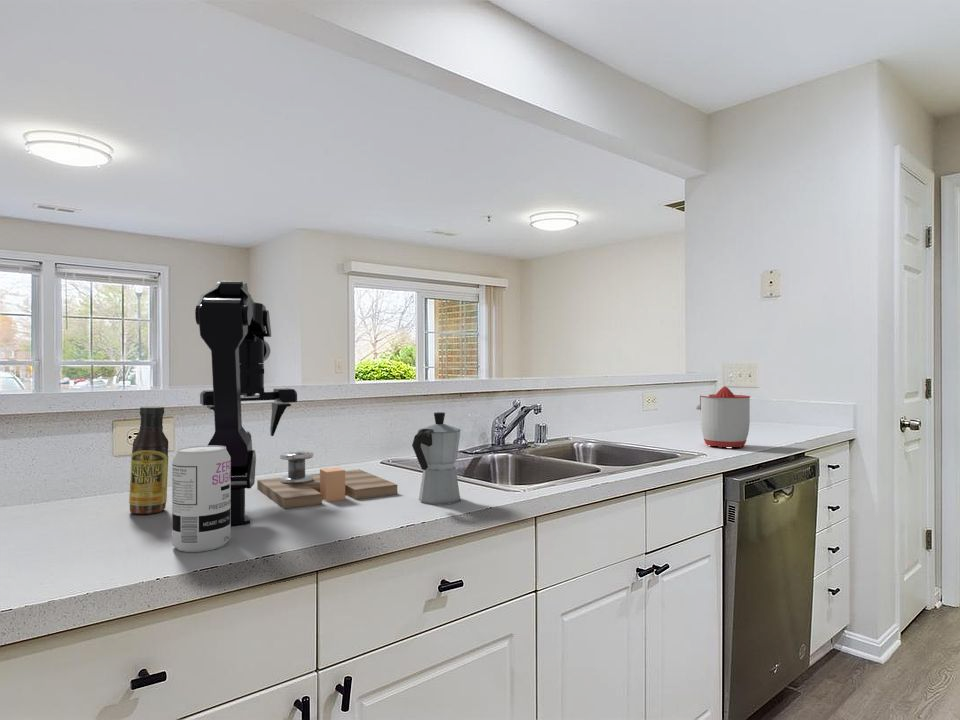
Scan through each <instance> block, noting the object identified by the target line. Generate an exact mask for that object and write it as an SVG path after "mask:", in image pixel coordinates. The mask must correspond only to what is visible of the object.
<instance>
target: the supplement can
mask: <svg viewBox="0 0 960 720" xmlns="http://www.w3.org/2000/svg"><path fill="white" fill-rule="evenodd" d="M171 465H172V466H171V467H172V469H171V471H172V472H171V473H172V474H171V475H172V477H171V478H172V479H171V481H172V482H171V488H172V490H171V502H172V503H171V504H172V505H171V506H172V507H171V510H172V511H171V515H172V516H171V520H172V521H171V530H172V531H171V533H172V535H171V541H172V547H175V548H176V550H177V551H180V552H185V553H200V552H207V551H213V550H216V549H220V548H222V547H224V546H225V545H226V544H227V542H228V541H229V540H230V539H231V537H232V536H231V535H232V534H231V526H232V525H231V457H230V455H229V453H228V452H227V450H226V447H225V446H217V445H208V444H206V445H195V446H193V445H192V446H185V447H180V448H178V449H176V452H175V454H174V455H173V457H172V461H171Z"/></svg>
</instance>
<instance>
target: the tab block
mask: <svg viewBox="0 0 960 720" xmlns="http://www.w3.org/2000/svg"><path fill="white" fill-rule="evenodd" d="M345 471H346V470H345V469H344V468H342V467H339V466H337V467H329V468H320V469H319V473H320V493H321V494H322V501H324V502H332V501H340V500H346V494H345Z"/></svg>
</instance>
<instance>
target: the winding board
mask: <svg viewBox="0 0 960 720" xmlns="http://www.w3.org/2000/svg"><path fill="white" fill-rule="evenodd" d="M308 475H312V476H313V481H312V482H309V483H303V484H283V483H280V478H281V477H282V476H281V477H272V478H271V477H270V478H261V479H257V480H256V482H257V483H256V485H257V487H256V488H257V490H258V491H259V492H261V493H262V494H263V495H264V496H266V497H268V499H270V500H271V501H273V502H274V503H275V504H276V505H278V506H280V507H281V508H282V509H291V508H292V509H294V508H299V507H300V508H301V507H306V506H308V507H309V506H315V505H316V506H317V505H321V504H322V503H323V499H322V494H321V493H320V472H318V473H310V474H309V473H308ZM392 495H393V496H394V495H398V484H397V483H395V482H392V481H389V480H387V479H384V478H382V477H379V476H377V475H374V474H372V473H370V472H367V471H365V470H361V469H351V470H349V469H348V470H345V496H348V497H350V498H351V499H354V500H361V499H368V498H377V497H383V496H384V497H385V496H392Z"/></svg>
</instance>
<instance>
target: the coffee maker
mask: <svg viewBox="0 0 960 720" xmlns="http://www.w3.org/2000/svg"><path fill="white" fill-rule="evenodd" d="M433 415H434V424H431V425H428V426H425V427H423V428H420V429H418V430H417V431H418V432H417V434H415V435H414V437H413V440H412V441H413V442H412V444H411V447H412V449H413V451H414V454H415V456H416V458H417V462H418V465H419V466H420V468H421V470H422V475H421V476H422V477H421V483H420V490H419V495H418V500H419V502H420V503H421V504H426V505H432V504H433V505H434V506H438V505H437V504H442V505H450V504H449V503H453V504H455V503H454V502H456V503H457V501H458V502H460V501H459V500H461V495H460V487H459V481H458V475H457V468H456V466H455V462H456V461H457V460H458V452H459V445H460V437H461V428H458V427H455V426H451V425H449V424H445V423H444V421H445V415H446V412H439V411H437V412H433ZM433 505H432V506H433Z"/></svg>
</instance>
